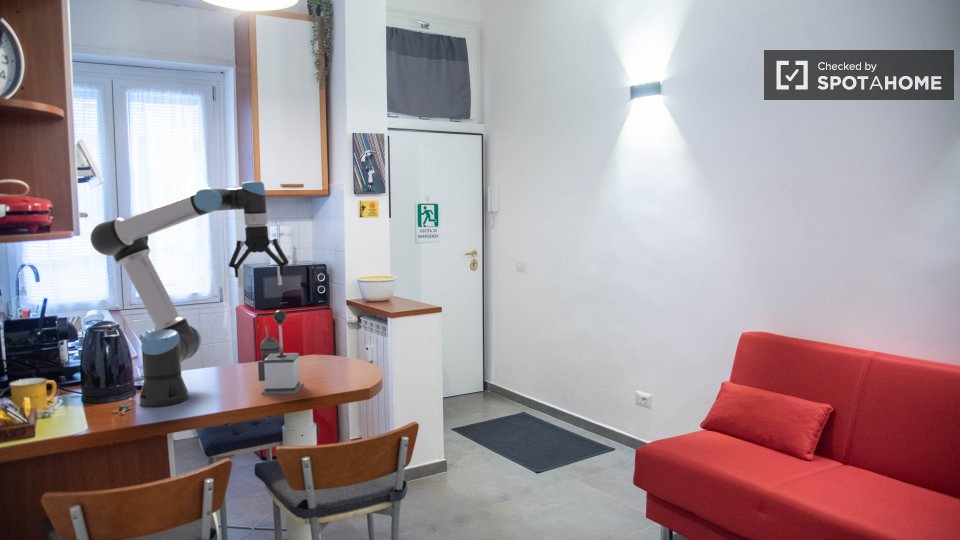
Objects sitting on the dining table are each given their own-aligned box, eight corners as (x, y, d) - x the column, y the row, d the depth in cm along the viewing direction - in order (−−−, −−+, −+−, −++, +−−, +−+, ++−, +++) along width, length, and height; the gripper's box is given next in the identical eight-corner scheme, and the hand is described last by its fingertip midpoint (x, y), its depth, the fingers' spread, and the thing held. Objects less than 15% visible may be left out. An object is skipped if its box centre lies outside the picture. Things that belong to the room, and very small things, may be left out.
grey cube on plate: (255, 394, 239) (253, 361, 238) (263, 385, 251) (262, 353, 250) (296, 393, 240) (295, 360, 239) (303, 384, 252) (301, 352, 251)
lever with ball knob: (268, 367, 240) (265, 312, 238) (273, 361, 248) (270, 308, 246) (291, 366, 241) (288, 311, 239) (295, 361, 249) (293, 308, 247)
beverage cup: (275, 380, 258) (272, 328, 255) (257, 379, 259) (254, 327, 257) (284, 375, 265) (282, 324, 262) (267, 374, 266) (264, 323, 264)
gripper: (216, 227, 236) (221, 288, 238) (290, 224, 238) (294, 285, 240) (222, 226, 243) (227, 286, 245) (294, 224, 245) (298, 282, 247)
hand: (260, 285), depth 243 cm, fingers open, 13 cm apart
